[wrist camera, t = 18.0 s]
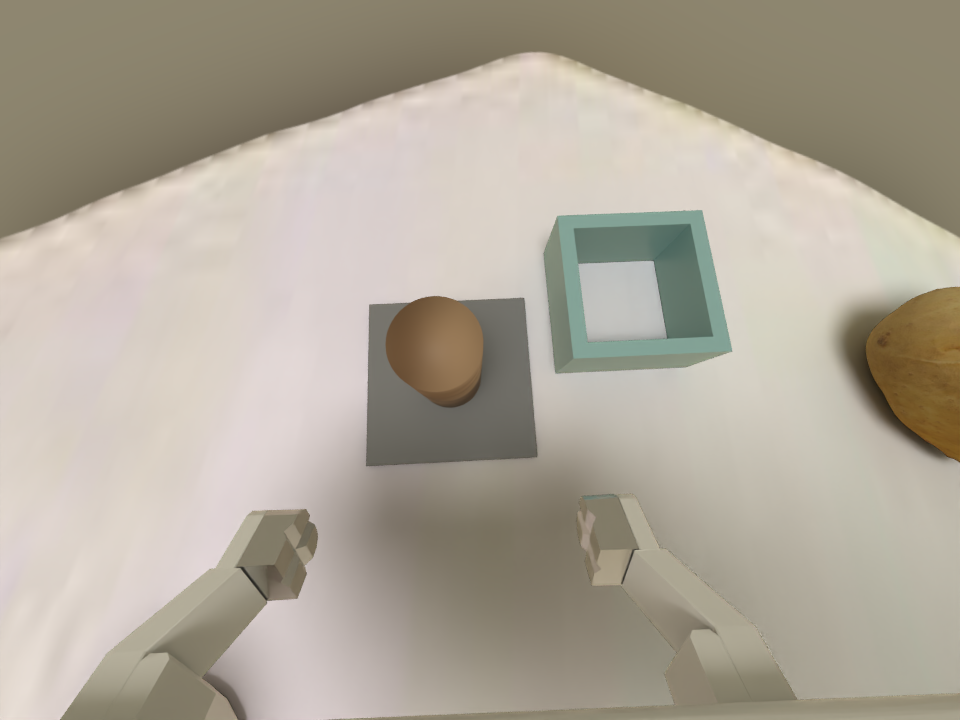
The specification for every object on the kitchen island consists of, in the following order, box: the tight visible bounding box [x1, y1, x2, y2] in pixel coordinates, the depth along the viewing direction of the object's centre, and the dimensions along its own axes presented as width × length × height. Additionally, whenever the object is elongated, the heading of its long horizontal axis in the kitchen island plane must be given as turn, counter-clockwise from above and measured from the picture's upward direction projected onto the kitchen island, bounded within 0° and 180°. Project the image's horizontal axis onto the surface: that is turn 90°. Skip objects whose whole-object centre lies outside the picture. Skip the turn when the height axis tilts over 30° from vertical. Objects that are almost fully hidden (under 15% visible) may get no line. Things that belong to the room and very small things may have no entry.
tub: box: [544, 210, 732, 373], centre depth 25 cm, size 10×10×5 cm
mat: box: [366, 298, 537, 466], centre depth 26 cm, size 12×12×1 cm
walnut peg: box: [385, 296, 483, 408], centre depth 21 cm, size 4×4×10 cm
